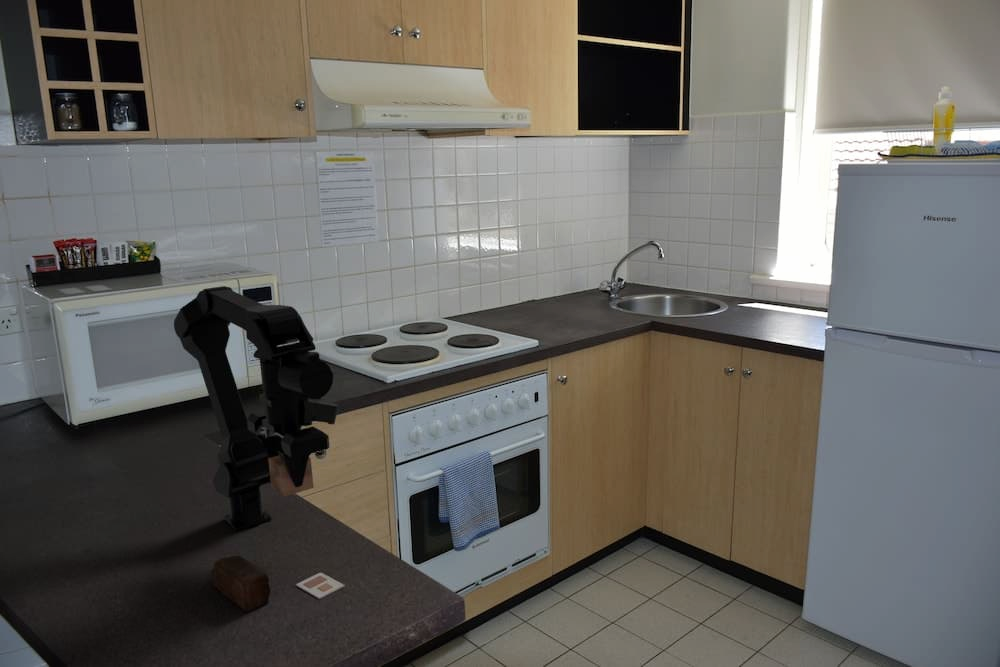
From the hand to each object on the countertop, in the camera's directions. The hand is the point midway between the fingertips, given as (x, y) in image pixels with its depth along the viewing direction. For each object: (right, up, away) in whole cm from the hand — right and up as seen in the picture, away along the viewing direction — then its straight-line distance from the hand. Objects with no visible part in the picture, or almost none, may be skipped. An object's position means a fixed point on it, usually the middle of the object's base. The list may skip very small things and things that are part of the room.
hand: (291, 481), depth 123 cm
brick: (-4, -15, -11) cm, 19 cm away
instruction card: (+7, -14, -10) cm, 18 cm away
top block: (0, -1, 0) cm, 1 cm away
